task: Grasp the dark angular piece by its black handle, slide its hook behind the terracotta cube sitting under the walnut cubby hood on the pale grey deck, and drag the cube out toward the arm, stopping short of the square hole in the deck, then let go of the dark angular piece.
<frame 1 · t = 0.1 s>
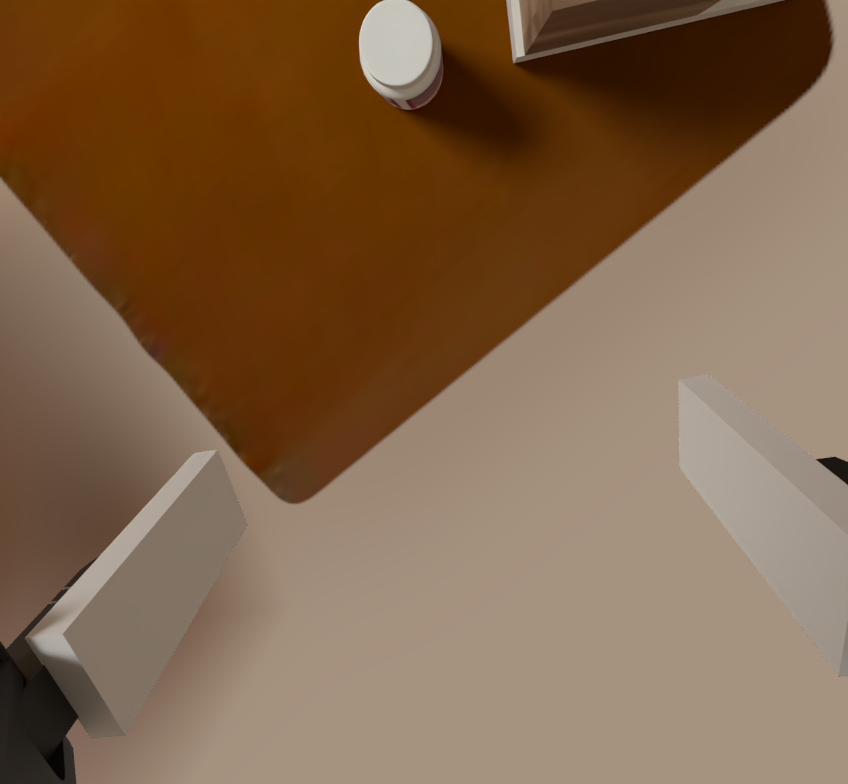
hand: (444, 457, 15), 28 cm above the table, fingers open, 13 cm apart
pill bottle: (408, 71, 35), on the table
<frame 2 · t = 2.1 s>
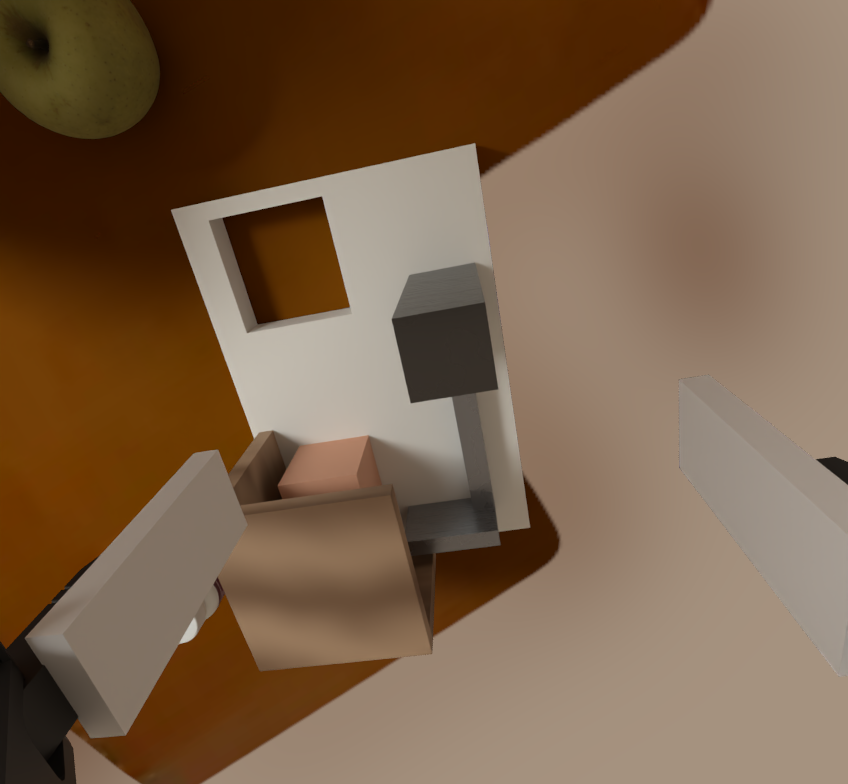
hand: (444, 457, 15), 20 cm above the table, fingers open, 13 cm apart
pill bottle: (220, 539, 43), on the table
cubby: (356, 473, 39), resting on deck
apple: (120, 64, 29), on the table
dark angular piece: (447, 301, 32), point 2 cm above the table, touching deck
cube: (342, 471, 37), point 2 cm above the table, touching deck
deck: (374, 375, 36), on the table
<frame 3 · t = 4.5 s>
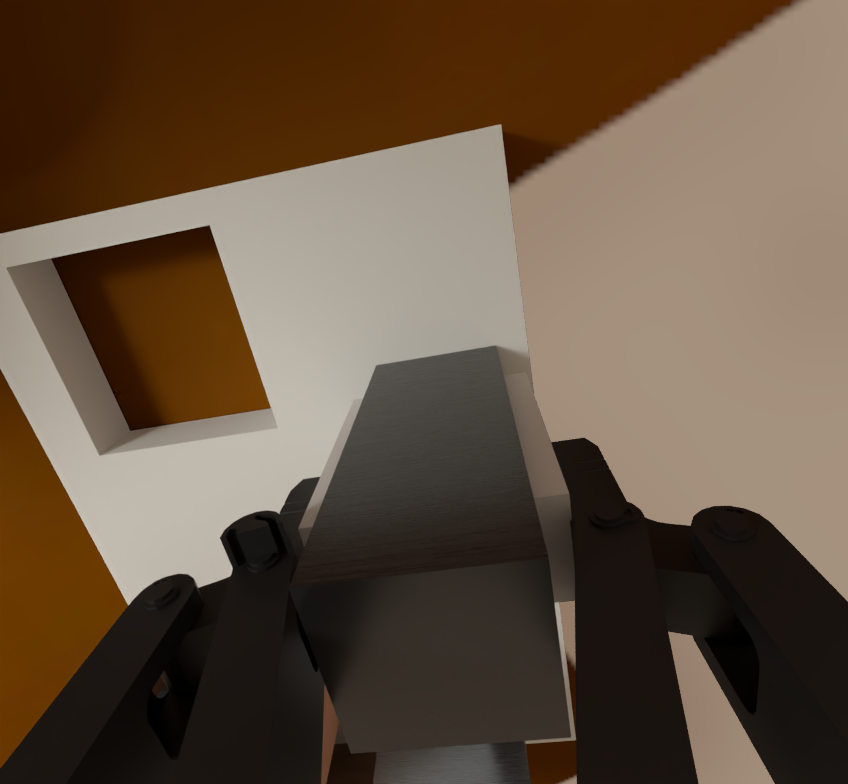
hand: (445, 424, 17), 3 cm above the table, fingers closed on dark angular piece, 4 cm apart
cubby: (303, 644, 25), resting on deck
dark angular piece: (445, 409, 18), point 2 cm above the table, touching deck, gripper
cube: (276, 658, 23), point 2 cm above the table, touching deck
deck: (327, 509, 22), on the table
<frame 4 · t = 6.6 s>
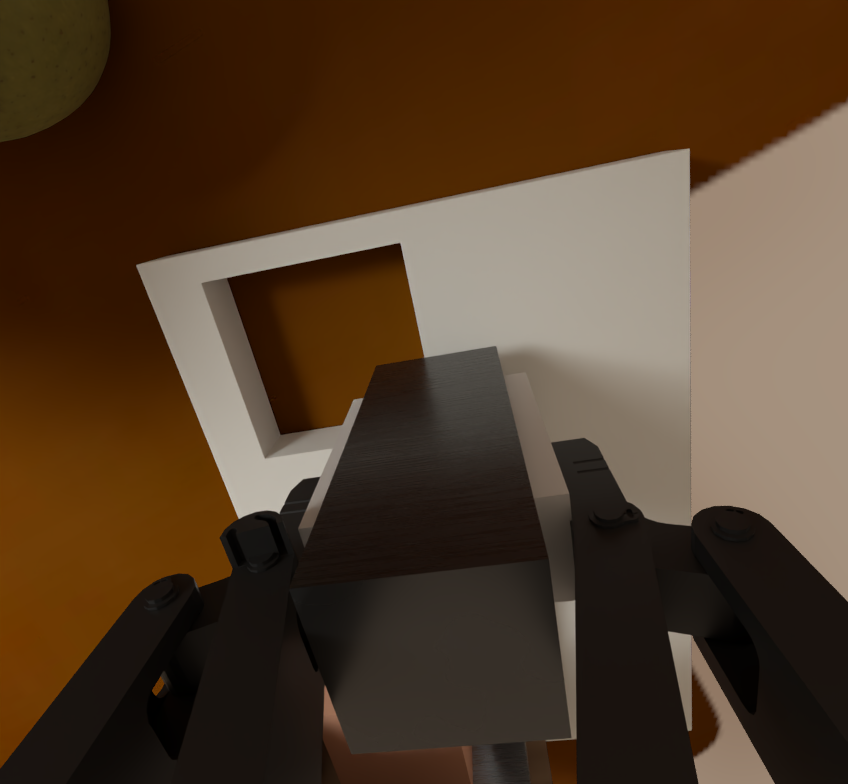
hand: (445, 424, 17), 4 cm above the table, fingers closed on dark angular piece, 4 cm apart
cubby: (423, 638, 26), resting on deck
apple: (47, 12, 17), on the table
dark angular piece: (446, 410, 18), point 3 cm above the table, touching gripper
cube: (407, 643, 24), point 2 cm above the table, touching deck
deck: (461, 509, 23), on the table
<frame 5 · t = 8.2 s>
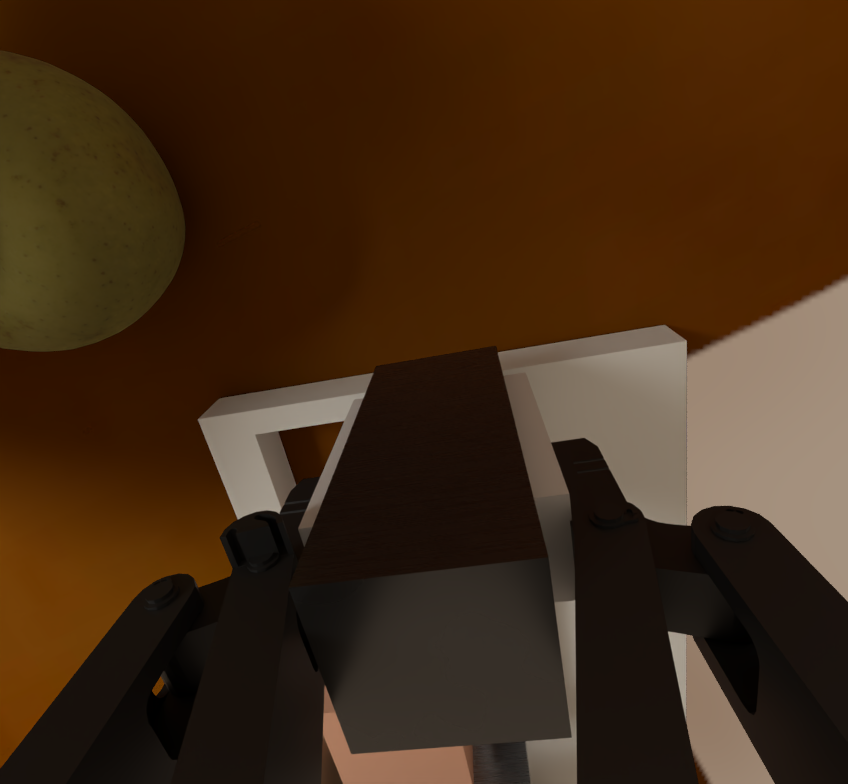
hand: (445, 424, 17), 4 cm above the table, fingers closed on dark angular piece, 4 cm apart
cubby: (441, 715, 29), resting on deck
apple: (122, 203, 19), on the table
dark angular piece: (445, 410, 18), point 3 cm above the table, touching cube, gripper
cube: (407, 641, 24), point 2 cm above the table, touching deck, dark angular piece
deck: (479, 608, 25), on the table
when the fingers open (3 cm above the table, at t = 8.9 s): dark angular piece stays where it is, resting on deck.
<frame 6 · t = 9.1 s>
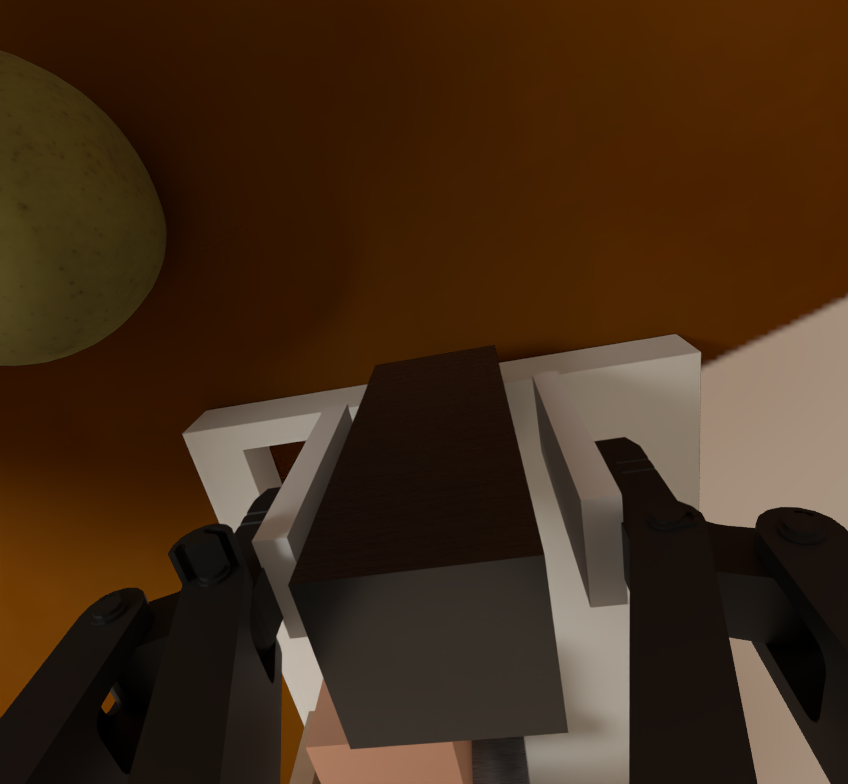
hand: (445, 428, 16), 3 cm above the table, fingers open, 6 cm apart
cubby: (440, 736, 28), resting on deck
apple: (101, 205, 18), on the table
dark angular piece: (444, 409, 18), point 2 cm above the table, touching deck
cube: (404, 663, 23), point 2 cm above the table, touching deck
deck: (479, 627, 24), on the table
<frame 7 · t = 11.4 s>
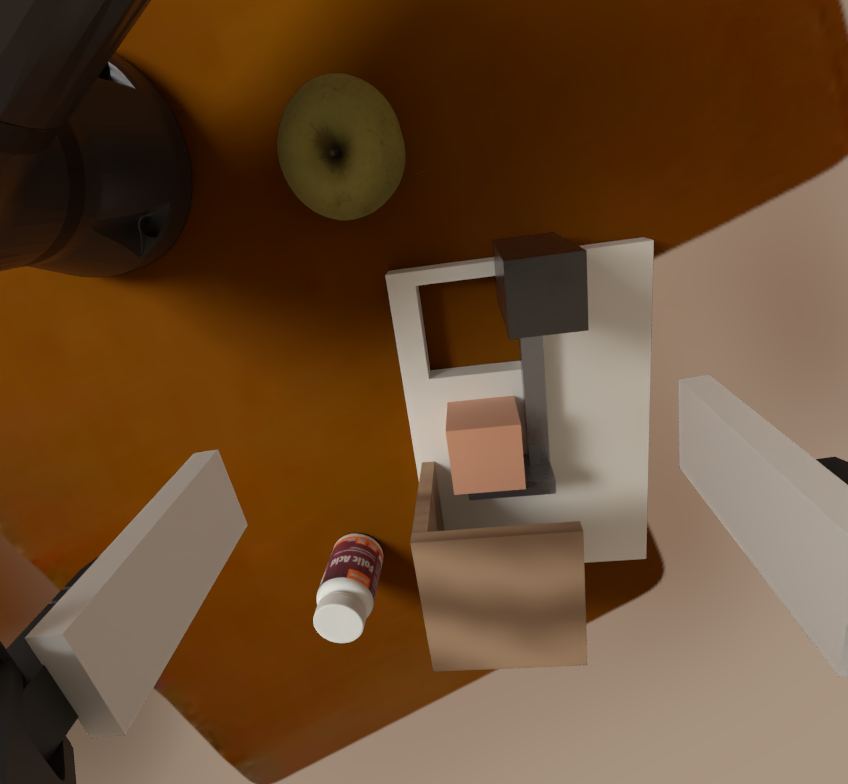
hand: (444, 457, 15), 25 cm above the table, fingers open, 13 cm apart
pill bottle: (358, 551, 48), on the table
cubby: (492, 501, 45), resting on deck
apple: (355, 153, 35), on the table
dark angular piece: (524, 266, 35), point 2 cm above the table, touching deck
cube: (483, 428, 40), point 2 cm above the table, touching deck
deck: (524, 419, 41), on the table
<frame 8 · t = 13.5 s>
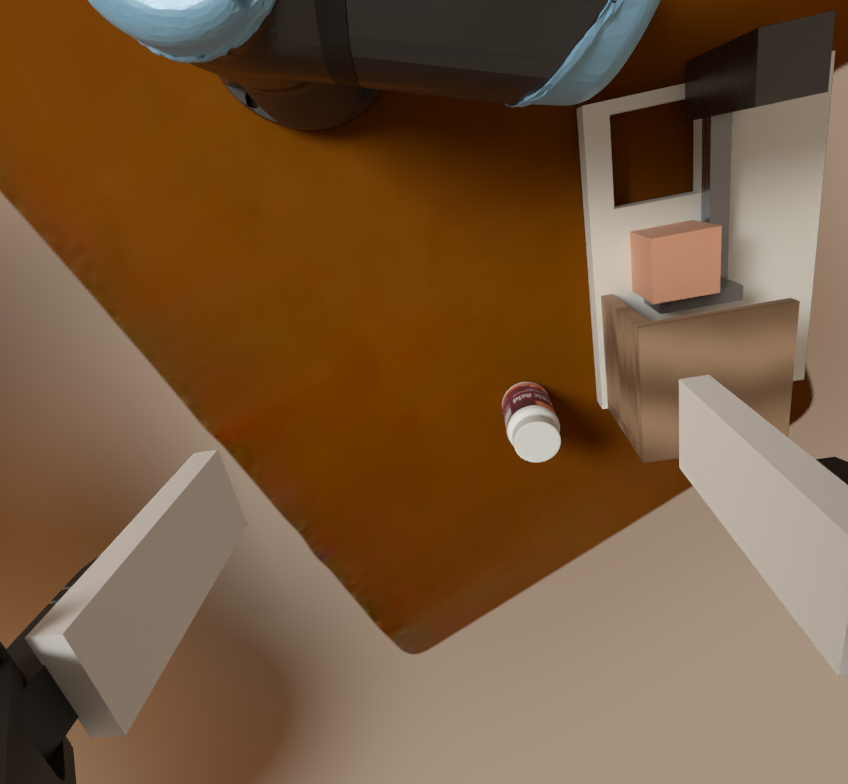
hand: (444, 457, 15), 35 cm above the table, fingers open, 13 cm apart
pill bottle: (524, 401, 52), on the table
cubby: (656, 338, 48), resting on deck
dark angular piece: (712, 86, 39), point 2 cm above the table, touching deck
cube: (661, 256, 44), point 2 cm above the table, touching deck
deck: (692, 251, 45), on the table
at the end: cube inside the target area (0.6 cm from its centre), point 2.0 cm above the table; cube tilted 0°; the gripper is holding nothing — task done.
